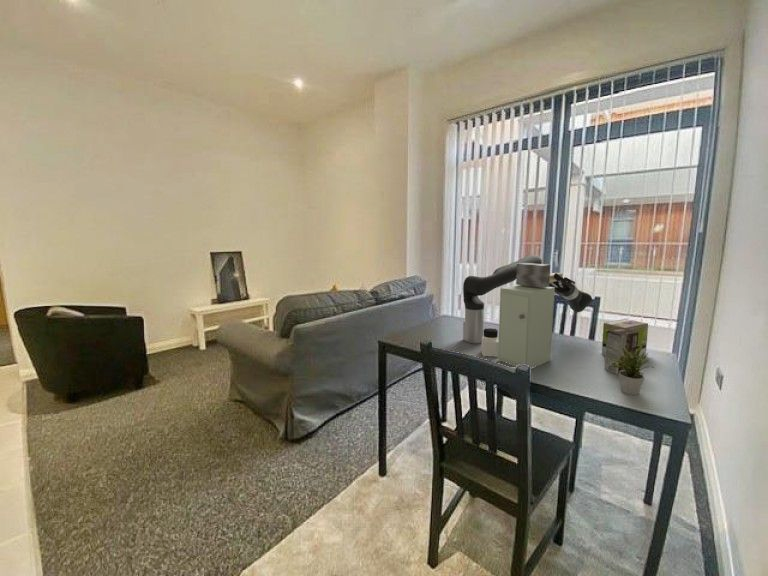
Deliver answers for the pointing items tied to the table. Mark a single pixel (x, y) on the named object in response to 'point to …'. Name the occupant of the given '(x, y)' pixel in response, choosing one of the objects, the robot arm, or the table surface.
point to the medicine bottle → (490, 342)
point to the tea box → (630, 325)
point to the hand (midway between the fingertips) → (551, 274)
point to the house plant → (631, 371)
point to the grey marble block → (534, 275)
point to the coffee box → (625, 340)
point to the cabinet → (525, 324)
